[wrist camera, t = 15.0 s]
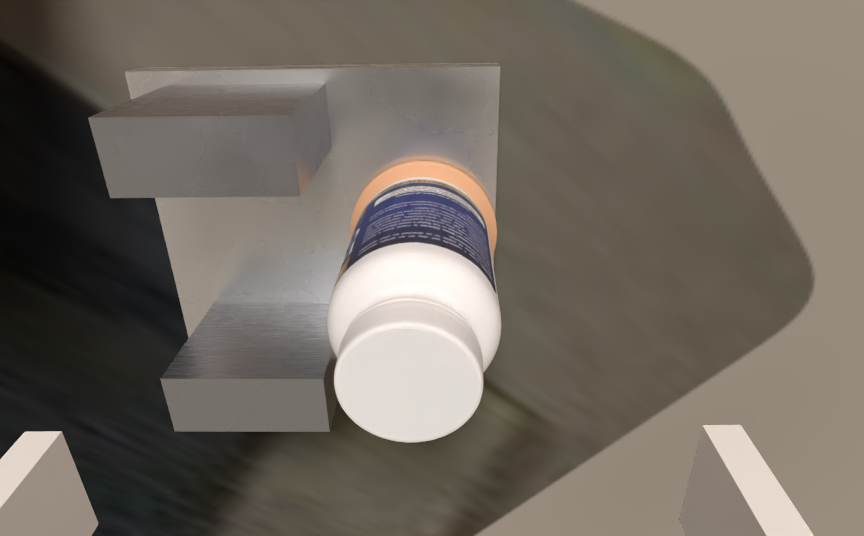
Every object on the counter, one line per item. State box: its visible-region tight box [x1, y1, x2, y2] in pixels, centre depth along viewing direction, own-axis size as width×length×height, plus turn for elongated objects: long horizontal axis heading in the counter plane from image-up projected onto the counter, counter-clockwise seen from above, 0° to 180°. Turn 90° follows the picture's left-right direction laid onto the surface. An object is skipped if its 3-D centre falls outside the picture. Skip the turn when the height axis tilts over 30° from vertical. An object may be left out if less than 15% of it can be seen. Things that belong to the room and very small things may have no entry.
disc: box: [350, 160, 497, 256], centre depth 24 cm, size 6×6×1 cm
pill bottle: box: [327, 177, 501, 443], centre depth 20 cm, size 5×5×10 cm
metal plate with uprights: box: [88, 62, 500, 432], centre depth 23 cm, size 14×13×7 cm
